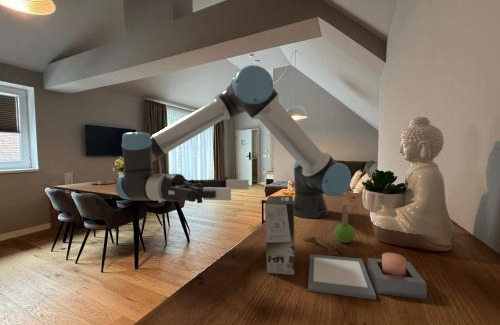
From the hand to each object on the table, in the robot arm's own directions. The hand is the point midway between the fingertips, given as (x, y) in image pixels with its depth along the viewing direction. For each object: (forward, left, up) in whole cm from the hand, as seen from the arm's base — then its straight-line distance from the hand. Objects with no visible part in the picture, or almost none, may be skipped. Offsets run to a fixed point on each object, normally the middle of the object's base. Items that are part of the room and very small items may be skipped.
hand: (240, 188), depth 57 cm
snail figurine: (-16, +26, -19) cm, 36 cm away
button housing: (+3, +33, -18) cm, 38 cm away
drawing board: (+2, +22, -18) cm, 29 cm away
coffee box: (0, +10, -19) cm, 21 cm away
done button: (+3, +33, -16) cm, 37 cm away
